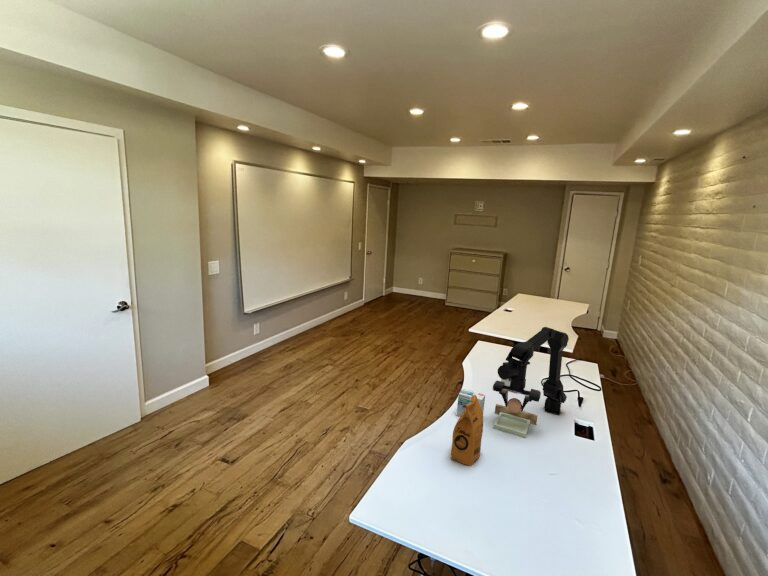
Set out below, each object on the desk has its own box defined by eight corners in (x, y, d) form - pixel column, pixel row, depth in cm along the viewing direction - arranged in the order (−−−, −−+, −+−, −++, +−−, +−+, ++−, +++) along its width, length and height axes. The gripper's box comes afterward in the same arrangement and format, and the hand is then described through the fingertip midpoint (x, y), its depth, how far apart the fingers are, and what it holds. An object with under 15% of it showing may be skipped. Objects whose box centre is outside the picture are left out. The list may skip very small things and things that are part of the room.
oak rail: (536, 423, 168) (537, 415, 167) (536, 425, 167) (537, 416, 166) (495, 411, 177) (496, 403, 176) (494, 413, 175) (495, 405, 174)
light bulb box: (455, 415, 171) (458, 393, 169) (460, 409, 177) (462, 387, 175) (479, 422, 166) (482, 399, 164) (483, 416, 172) (485, 393, 170)
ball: (522, 410, 165) (523, 398, 164) (519, 416, 160) (521, 403, 159) (507, 407, 168) (509, 394, 166) (505, 412, 162) (506, 399, 161)
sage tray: (529, 424, 167) (530, 420, 167) (525, 438, 156) (525, 433, 156) (499, 415, 173) (500, 411, 173) (493, 428, 162) (493, 424, 162)
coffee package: (445, 458, 140) (451, 402, 136) (459, 443, 150) (465, 390, 146) (471, 469, 134) (477, 411, 130) (484, 452, 144) (490, 398, 140)
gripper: (544, 373, 163) (539, 407, 166) (500, 364, 172) (496, 396, 175) (541, 383, 154) (536, 418, 156) (494, 372, 162) (490, 406, 165)
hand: (514, 409), depth 163 cm, fingers closed on ball, 6 cm apart
